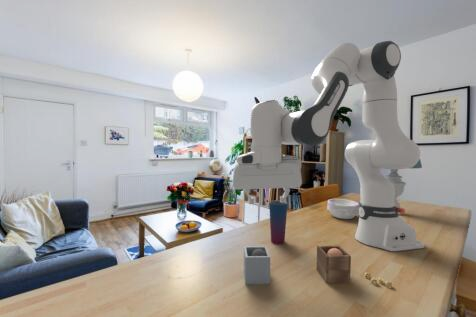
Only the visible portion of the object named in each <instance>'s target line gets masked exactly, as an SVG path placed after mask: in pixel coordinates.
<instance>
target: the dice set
mask: <svg viewBox="0 0 476 317" xmlns="http://www.w3.org/2000/svg"><path fill="white" fill-rule="evenodd" d="M364 278H365V279H369V280H370V284H371V285H373V286H377V285H378V283H379V284H381V285H384V284H385V288H388V289H393V283H392V282H391V281H387V280H386V281H384V278H381V277H378V278H377V279H378V280H377V279H376V278H373V277H372V274H371V273H369V272H365V273H364ZM384 282H385V283H384Z"/></svg>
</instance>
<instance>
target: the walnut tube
mask: <svg viewBox="0 0 476 317" xmlns="http://www.w3.org/2000/svg"><path fill="white" fill-rule="evenodd" d="M332 248H336V249H339V250H340V251H341V252H342V254H343V255H327V253H328V251H329V250H330V249H332ZM351 262H352V256H351V255H350V254H349V253H348V252H347V251H346V250H345V249H344V248H343V247H341V246H340V245H316V271H317V273H318V275H320V277H321V278H322V279H323V281H324V283H325V284H351V271H352V270H351V268H352V266H351V265H352V264H351Z"/></svg>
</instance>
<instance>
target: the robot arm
mask: <svg viewBox="0 0 476 317" xmlns="http://www.w3.org/2000/svg"><path fill="white" fill-rule="evenodd" d="M401 59H402V52H401V50H400V47H399V45H398V44H396V43H395V42H394V41H392V40H385V41H380V42H377V43H375V44H374V45H371V46H368V47H366V48H363V49H361V50H360V48H358V46H357V45H356V44H354V43H352V42H342V43H339V44H338V45H337V46H335V47H333V49H331V50H330V51H328V53H327V54H326V55H325V56H324V57H323V59H322V60H321V61H320V62H319V63H318V65H317V66H316V67H315V69H314V71H313V73H312V75H311V85H312V87H313V89H314V90H315V91H316V92H317V93H318V94H319V96H318V97H317V99H316V101H315V103H314V104H312V106H309V107H306V108H304V109H302V110H297V111H294V112H292V111H291V110H287V109H286V108H284V107H283V106H282V105H281V104H280V102H279V101H278V100H275V99H271V100H270V99H269V100H265V101H261V102H258V103H256V104H255V105H253V107H252V109H251V114H250V134H251V139H252V140H251V144H250V151H248V152H245V153H243V154H240V155H238V156H236V163H237V164H236V165H235V167H234V169H233V176H232V187H233V188H234V190H244V194H245V195H246V196H247V198H248V204H249V205H255V197H254V196H251V195H250V193H251V190H263V189H264V190H265V189H267V190H268V189H282V190H283V191H284V192H283V194H282V195H280V196H279V201H280V202H281V203H286V202H287V197H288V195H289V194H290V192H291V188H292V189H294V188H301V186H302V185H303V179H302V171H301V169H302V160H301V159H300V158H299V157H298V156H296V155H291V156H289V155H285V156H284V155H282V145H288V146H289V145H290V146H291V145H292V146H296V145H297V146H301V145H302V146H307V147H309V146H310V147H316V146H319V145H320V144H321V143H324V141H325V140H326V138H327V136H328V135H329V133H330V129H331V126H332V125H331V124H332V122H333V119H334V117H335V115H336V114H337V111H338V109H339V108H340V106H341V103H342V102H343V100H344V98H345V96H346V94H347V93H348V89H349V87H352V86H354V85H358V84H362V85H363V93H362V103H361V104H362V107H361V108H362V109H361V110H362V111H361V115H362V116H361V117H362V118H361V121H362V122H361V123H362V125H363V126H364V127H365V128H366V129H368V130H371V131H372V132H373V133H374V135H375V139H360V140H355V141H352V142H349V143H348V144H347V145H346V148H345V150H344V158H345V160H346V161H347V163H348V164H350V166H351V167H352V168H353V170H354V171H355V172H356V175H357V176H358V177H357V178H358V180H359V185H360V187H359V188H360V189H359V192H360V194H359V195H360V198H359V201H360V202H358V203H359V214H358V217H359V218H358V224H357V229H356V232H355V235H354V239H355V240H356V241H358V242H360V243H362V244H363V245H364V244H365V245H367V246H370V247H374V248H379V249H383V250H384V251H385V250H386V251H390V252H401V251H408V250H417V249H424V248H425V244H424V243H423V242H422V241H421V240H419V239H417V233H416V230H415V228H414V227H413V226H412V225H411V224H409V222H407V221H406V220H405V219H403V218H402V217H401V216H400V215H398V212H399V213H401V214H402V215H405V213H406V211H405V208H403V207H399V208H397V207H396V206H394V197H395V187H394V185H393V183H392V182H391V181H389V180H387V177H386V176H384V175H383V173H382V170H381V169H383V170H390V169H395V170H397V169H398V170H405V169H406V170H407V169H413V168H412V167H413V166H415V165H416V164H417V162H418V161H419V158H420V159H421V150H420V147H419V145H418V144H417V143H416V142H415V141H414V140H412V139H411V138H409V137H408V136H407V135H405V133H404V132H403V131H402V128H401V126H400V125H399V119H398V91H397V90H398V89H397V83H396V78H395V73H396V71H397V70H398V68H399V66H400V63H401Z"/></svg>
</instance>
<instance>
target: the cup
mask: <svg viewBox="0 0 476 317" xmlns="http://www.w3.org/2000/svg"><path fill="white" fill-rule="evenodd" d="M268 202H269V203H268V205H269V225H270V226H269V228H270V242H271V243H272V244H275V245H283V244H284V243H285V240H286V239H285V238H286V230H287V229H286V226H287V214H288V202H287V201H286V203H281V202H280V199H278V200H276V199H275V200H270V201H268Z"/></svg>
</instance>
